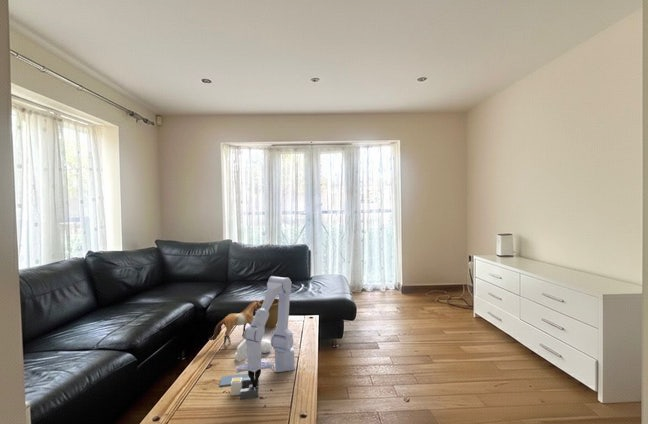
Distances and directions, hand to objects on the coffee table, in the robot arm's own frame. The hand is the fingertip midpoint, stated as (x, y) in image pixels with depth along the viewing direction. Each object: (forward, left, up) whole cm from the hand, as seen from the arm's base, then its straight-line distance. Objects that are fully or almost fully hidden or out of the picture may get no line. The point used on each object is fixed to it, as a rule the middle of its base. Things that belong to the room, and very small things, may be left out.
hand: (254, 386), depth 127 cm
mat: (+9, -10, -1) cm, 13 cm away
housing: (+2, 0, -1) cm, 3 cm away
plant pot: (-7, -71, -2) cm, 71 cm away
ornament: (-4, -34, -2) cm, 34 cm away
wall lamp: (+5, 0, -1) cm, 5 cm away
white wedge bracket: (+7, -30, -2) cm, 31 cm away
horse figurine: (+13, -52, -2) cm, 54 cm away
